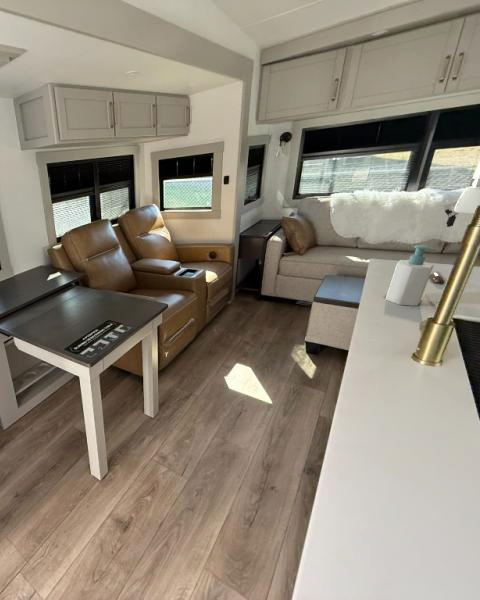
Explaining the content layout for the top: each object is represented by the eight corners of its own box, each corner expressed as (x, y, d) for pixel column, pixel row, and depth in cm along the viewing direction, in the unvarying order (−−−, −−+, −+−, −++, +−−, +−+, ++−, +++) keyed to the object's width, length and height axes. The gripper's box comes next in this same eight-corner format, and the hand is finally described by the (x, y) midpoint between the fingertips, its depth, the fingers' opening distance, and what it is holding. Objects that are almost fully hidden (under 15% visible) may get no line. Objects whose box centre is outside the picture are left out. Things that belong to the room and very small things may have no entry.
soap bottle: (415, 308, 118) (437, 251, 109) (383, 301, 125) (401, 247, 116) (421, 300, 123) (442, 245, 115) (389, 294, 130) (407, 241, 122)
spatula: (418, 272, 148) (421, 266, 147) (437, 274, 145) (439, 267, 144) (428, 284, 135) (431, 278, 134) (449, 286, 132) (452, 280, 131)
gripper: (525, 183, 115) (502, 230, 122) (458, 182, 130) (441, 224, 137) (515, 185, 113) (493, 232, 119) (448, 183, 127) (432, 226, 134)
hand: (465, 228), depth 128 cm, fingers open, 9 cm apart
